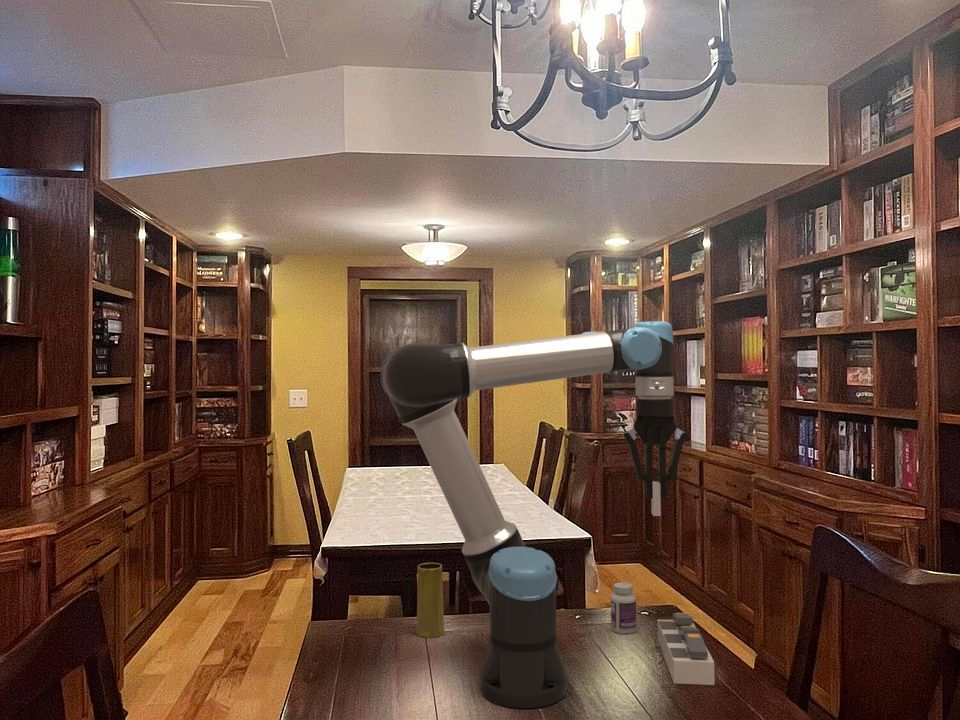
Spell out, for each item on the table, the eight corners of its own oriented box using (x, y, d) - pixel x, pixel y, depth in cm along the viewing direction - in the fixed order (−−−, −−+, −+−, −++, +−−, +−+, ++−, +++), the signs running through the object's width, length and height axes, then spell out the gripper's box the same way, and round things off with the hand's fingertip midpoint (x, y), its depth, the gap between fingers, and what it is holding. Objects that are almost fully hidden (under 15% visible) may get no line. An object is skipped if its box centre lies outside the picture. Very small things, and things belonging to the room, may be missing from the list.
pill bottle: (640, 628, 155) (639, 583, 155) (631, 636, 150) (630, 590, 150) (616, 624, 157) (615, 579, 158) (607, 631, 153) (606, 586, 153)
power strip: (674, 683, 128) (673, 656, 128) (657, 638, 149) (657, 616, 149) (714, 685, 127) (714, 658, 127) (692, 640, 148) (692, 617, 148)
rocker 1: (677, 624, 142) (677, 616, 142) (672, 619, 148) (672, 612, 148) (693, 624, 141) (692, 617, 142) (687, 619, 147) (687, 612, 148)
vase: (413, 629, 155) (412, 563, 155) (440, 626, 157) (440, 560, 157) (419, 639, 149) (419, 570, 150) (448, 636, 151) (447, 568, 151)
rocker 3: (690, 657, 128) (690, 650, 128) (684, 639, 134) (684, 632, 134) (707, 658, 128) (707, 651, 128) (701, 639, 134) (701, 633, 133)
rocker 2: (683, 636, 135) (683, 628, 135) (678, 633, 141) (678, 625, 141) (700, 636, 135) (699, 629, 135) (694, 633, 140) (693, 626, 141)
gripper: (623, 398, 143) (625, 518, 142) (691, 398, 141) (692, 518, 141) (620, 397, 150) (621, 510, 150) (684, 396, 149) (685, 511, 148)
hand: (656, 514), depth 145 cm, fingers closed
